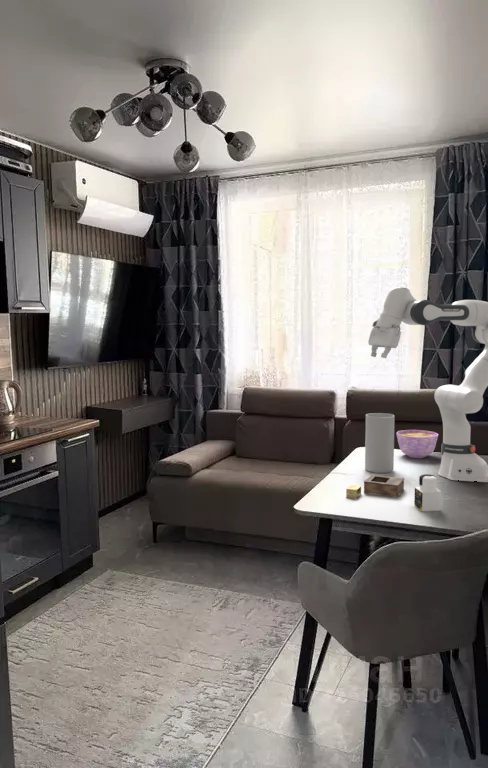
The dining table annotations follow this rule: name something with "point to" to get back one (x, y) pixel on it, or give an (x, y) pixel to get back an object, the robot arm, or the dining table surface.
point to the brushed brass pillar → (353, 491)
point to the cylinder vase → (379, 443)
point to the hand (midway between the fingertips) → (378, 357)
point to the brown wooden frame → (384, 485)
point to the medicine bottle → (427, 494)
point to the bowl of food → (417, 442)
